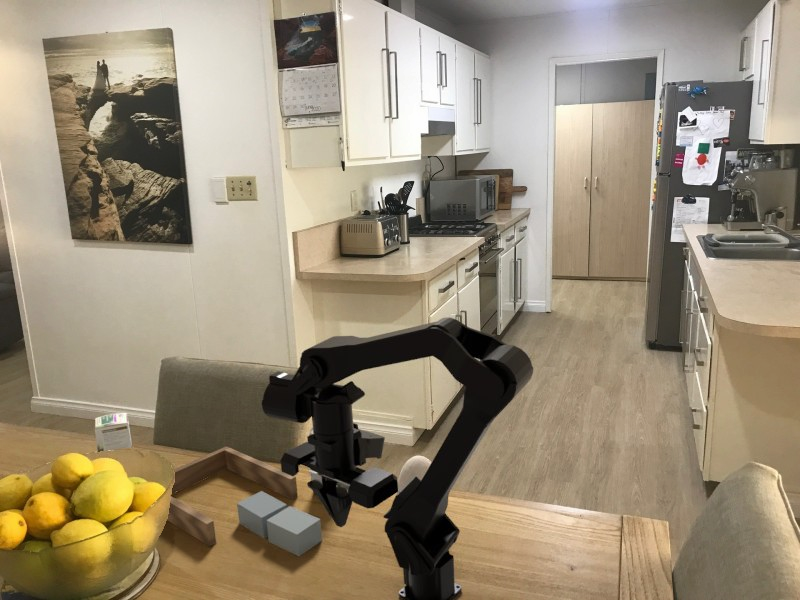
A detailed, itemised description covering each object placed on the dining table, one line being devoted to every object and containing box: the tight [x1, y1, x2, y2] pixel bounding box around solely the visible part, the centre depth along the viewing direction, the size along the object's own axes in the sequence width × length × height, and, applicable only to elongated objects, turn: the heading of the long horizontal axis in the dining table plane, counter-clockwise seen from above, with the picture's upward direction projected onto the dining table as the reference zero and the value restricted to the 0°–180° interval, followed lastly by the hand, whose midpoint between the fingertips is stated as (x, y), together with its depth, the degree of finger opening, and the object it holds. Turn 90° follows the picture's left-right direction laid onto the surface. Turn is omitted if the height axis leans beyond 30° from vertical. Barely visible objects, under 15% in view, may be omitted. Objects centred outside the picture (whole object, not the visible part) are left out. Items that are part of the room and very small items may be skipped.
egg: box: [396, 455, 432, 495], centre depth 106 cm, size 7×7×12 cm
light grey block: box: [267, 505, 323, 557], centre depth 104 cm, size 7×5×4 cm
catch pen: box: [167, 446, 298, 547], centre depth 117 cm, size 21×18×4 cm
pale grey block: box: [236, 490, 288, 540], centre depth 109 cm, size 7×5×4 cm
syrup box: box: [94, 412, 133, 453], centre depth 121 cm, size 6×6×14 cm
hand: (341, 525), depth 96 cm, fingers closed
